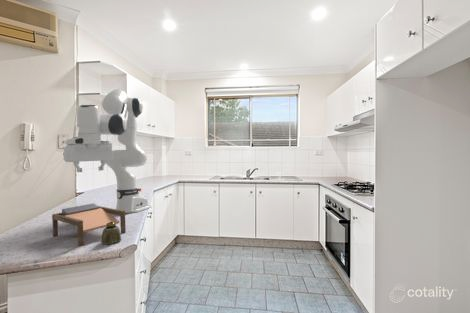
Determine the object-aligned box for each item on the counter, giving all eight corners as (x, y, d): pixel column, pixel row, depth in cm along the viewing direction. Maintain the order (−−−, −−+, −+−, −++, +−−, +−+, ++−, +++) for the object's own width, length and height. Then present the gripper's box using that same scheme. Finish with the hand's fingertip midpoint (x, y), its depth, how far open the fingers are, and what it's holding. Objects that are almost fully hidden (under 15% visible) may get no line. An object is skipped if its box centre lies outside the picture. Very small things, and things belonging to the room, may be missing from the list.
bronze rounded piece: (98, 222, 104) (98, 241, 104) (104, 226, 98) (104, 246, 98) (117, 219, 109) (117, 237, 109) (123, 222, 103) (123, 241, 103)
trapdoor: (95, 207, 126) (95, 202, 125) (118, 224, 115) (119, 219, 114) (59, 214, 112) (59, 209, 112) (82, 234, 101) (82, 229, 101)
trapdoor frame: (97, 225, 129) (97, 205, 128) (125, 232, 116) (125, 210, 115) (52, 236, 112) (52, 214, 112) (79, 246, 99) (78, 221, 99)
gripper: (108, 141, 122) (108, 169, 123) (61, 140, 105) (62, 173, 105) (115, 140, 119) (116, 169, 119) (68, 139, 102) (69, 173, 102)
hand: (90, 171), depth 112 cm, fingers open, 8 cm apart
